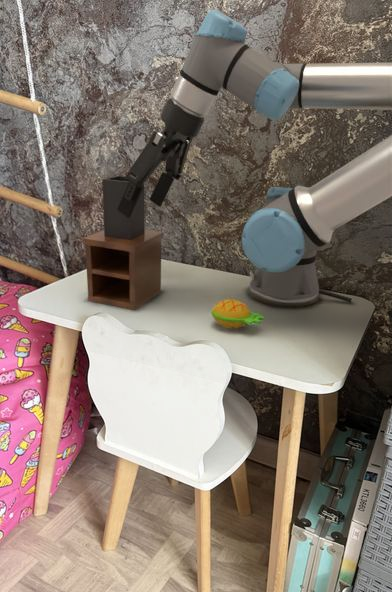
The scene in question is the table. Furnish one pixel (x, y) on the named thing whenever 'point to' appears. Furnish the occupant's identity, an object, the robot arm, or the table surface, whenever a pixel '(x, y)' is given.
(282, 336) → the table surface
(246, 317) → the orange toy pineapple
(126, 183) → the black upright box
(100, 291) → the shelf
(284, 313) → the table surface
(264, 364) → the table surface
